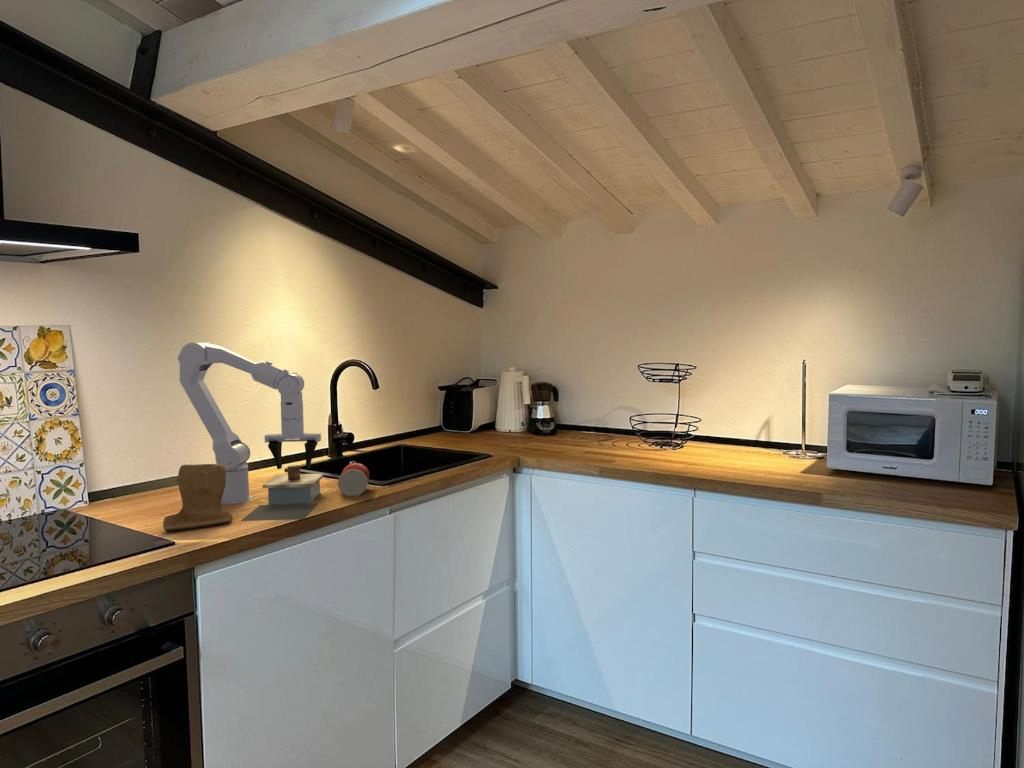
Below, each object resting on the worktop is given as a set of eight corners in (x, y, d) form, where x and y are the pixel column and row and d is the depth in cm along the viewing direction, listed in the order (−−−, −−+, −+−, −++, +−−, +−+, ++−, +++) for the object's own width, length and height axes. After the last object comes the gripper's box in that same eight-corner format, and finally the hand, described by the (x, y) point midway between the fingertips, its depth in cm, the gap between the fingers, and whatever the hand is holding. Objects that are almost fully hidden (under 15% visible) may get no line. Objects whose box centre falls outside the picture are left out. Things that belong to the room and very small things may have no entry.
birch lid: (262, 488, 179) (262, 471, 179) (276, 477, 192) (275, 462, 192) (313, 486, 180) (312, 470, 179) (323, 476, 193) (323, 461, 192)
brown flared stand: (227, 515, 172) (225, 456, 170) (235, 526, 161) (233, 463, 160) (159, 524, 164) (156, 462, 163) (164, 537, 154) (160, 471, 152)
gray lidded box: (268, 505, 181) (268, 486, 180) (280, 495, 192) (279, 477, 191) (311, 504, 181) (310, 485, 181) (320, 494, 192) (319, 477, 192)
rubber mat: (240, 522, 165) (240, 520, 165) (259, 506, 180) (259, 504, 180) (304, 520, 166) (303, 518, 166) (317, 505, 180) (317, 503, 180)
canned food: (336, 472, 198) (332, 480, 188) (360, 456, 199) (357, 464, 188) (351, 493, 200) (347, 502, 189) (374, 478, 200) (372, 486, 189)
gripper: (260, 420, 180) (262, 471, 181) (316, 419, 181) (317, 470, 182) (268, 417, 187) (270, 466, 188) (322, 416, 188) (323, 465, 189)
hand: (293, 468), depth 186 cm, fingers open, 7 cm apart
